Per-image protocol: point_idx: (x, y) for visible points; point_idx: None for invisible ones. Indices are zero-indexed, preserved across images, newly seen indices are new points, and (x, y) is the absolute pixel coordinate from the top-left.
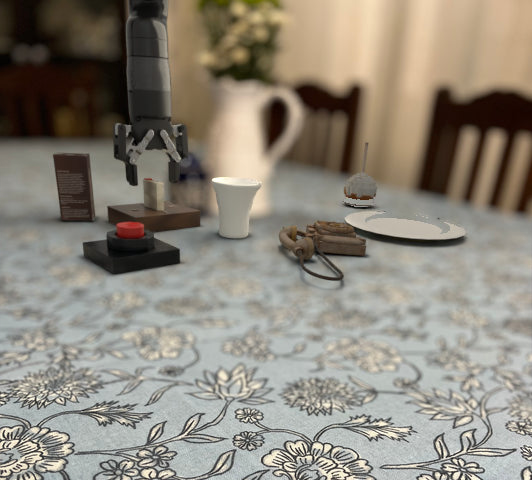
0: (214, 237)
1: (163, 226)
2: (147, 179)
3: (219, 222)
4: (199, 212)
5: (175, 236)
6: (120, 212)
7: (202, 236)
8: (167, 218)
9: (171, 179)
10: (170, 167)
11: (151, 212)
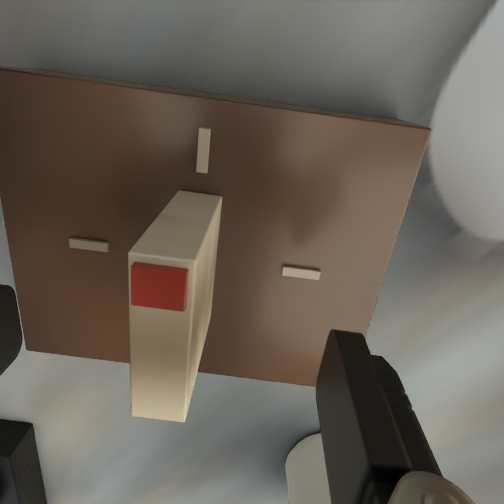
0: (263, 448)
1: None
2: (139, 304)
3: (299, 479)
4: None
5: None
6: (7, 230)
7: (241, 426)
8: None
9: (326, 368)
10: (347, 440)
11: None
